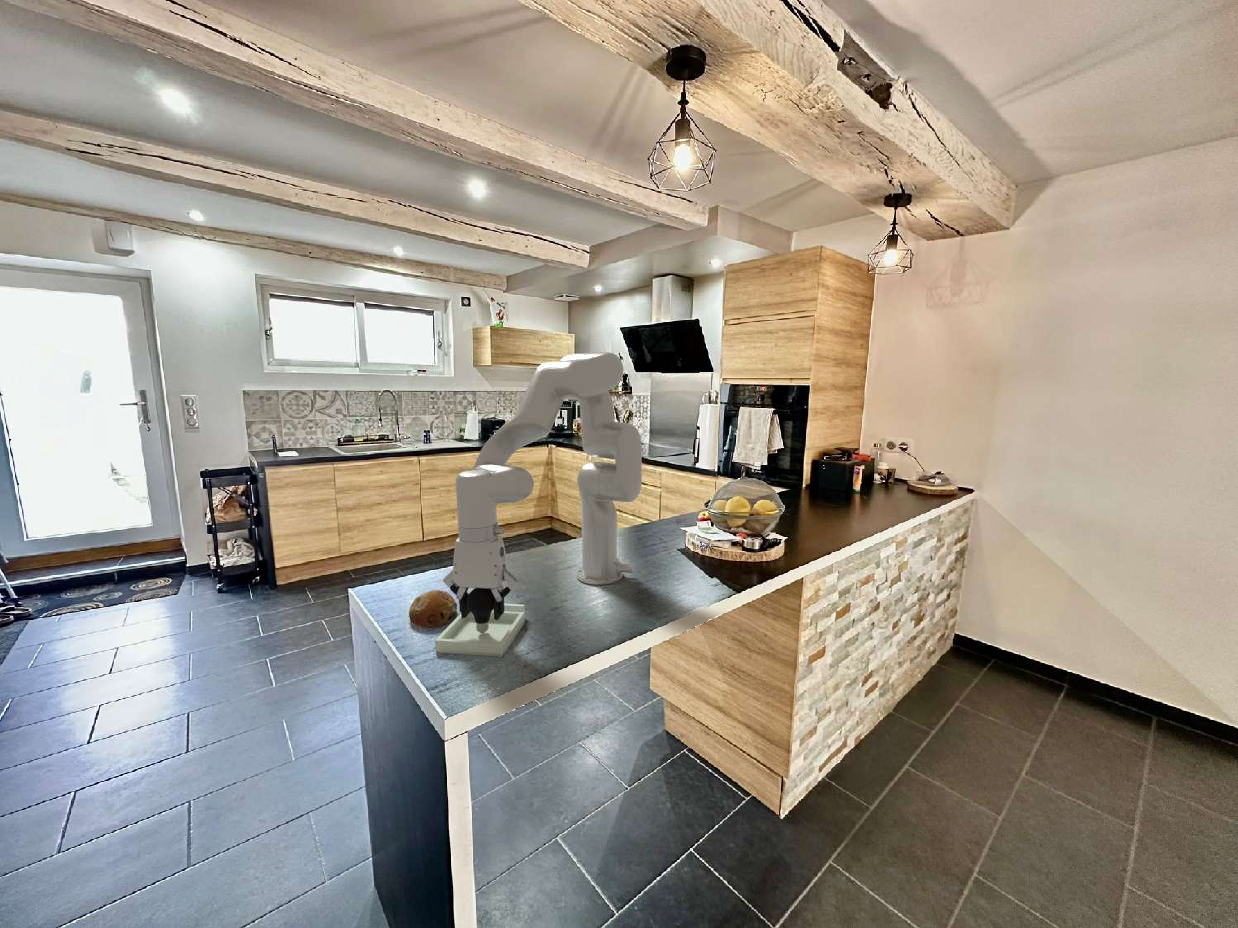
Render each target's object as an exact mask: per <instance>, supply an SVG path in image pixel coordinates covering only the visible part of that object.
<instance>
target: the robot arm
mask: <svg viewBox="0 0 1238 928" xmlns="http://www.w3.org/2000/svg"><path fill="white" fill-rule="evenodd" d="M623 376H624V364H623V361H622V360H621V359H620V357H619V356H618V355H617V354H615V353H613V352H609V351H608V352H605V351H604V352H581V353H580V352H579V353H578V352H577V353H571V354H568V355H565V356H563V357H562V358H561V359H560V360H558V361H548V362H544V363H542V364H540V365H538V366H537V368H536V370H535V371H534V373H533V375H532V377H531V379H530V381H529V384H528V386H527V388H526V391H525V392H524V394H523V397H522V398H521V400H520V403H519V405H518V407H517V409H516V412H515V413H514V415H513V416H512V418H510V419H509V420H508V421H506V422H505V423H503V424H502V426H501V427H500V428H499V429H498V430H496V432H495V433H494V434H492V435H491V436H490V437H489V438H488V440H487V441H486V442H485V443H484V444H483V446H482V448H481V450H480V451H479V454H478V456H477V457H476V460H475V462H474V465H473V467H472V470H466V471H465V470H464V471H462V472H460V473H458V474H457V475H456V478H455V490H456V491H455V493H456V494H455V495H456V510H457V511H456V512H457V529H458V532H457V533H458V538H456V540H455V543H454V544H455V545H454V551H453V564H452V565H453V566H452V568H453V569H451V571H450V572H449V573H448V574H447V575H446V576H445V577H444V578H443V579H442V582H443V583H444V584H445V585H446V586H447V587H448V588H449V590H450V591H451V592H452V593H453V594H454V595H455V598H456V599H457V600H458V606H459V613H460V614H461V618H465V617H466V616H467V615H468V614H469V613H470V610H469V609H468V606H467V598H468V595H469V592H468V591H469V589H475V588H483V589H491V590H492V592H493V595H494V597H495V601H494V603H493V606H494V619H495V620H498V619H499V618H500V617H501V615H502V614H503V613H504V604H505V597H506V596H507V595H508V594H509V593H511V591H513V589H515V587H517V585H518V584H519V579H517V578H516V577H515V576H514V575H513V574H512V573H511V572H510V571H509V570H508V561H507V553H506V549H505V548H506V547H505V545H504V544H505V543H504V540H503V537H502V536H501V535H503V534H504V533H505V527H504V526H503V527H501V526H499V522H498V513H497V512H498V510H497V506H498V505H499V504H500V505H501V504H502V505H503V504H515V503H519V502H523V501H524V500H526V499H527V498H528V497H529V496H530V495H531V494H532V492H533V489H534V485H535V484H534V479H533V476H532V475H531V473H530V472H529V471H528V470H526V469H525V468H522V467H519V466H516V465H515V466H514V465H508V464H507V462H508V461H509V459H510V458H511V456H512V455H514V454H515V453H516V452H517V451H518V450H520V449H522V448H523V447H524V446H527V445H529V444H532V443H533V442H536V441H539V440H541V439H543V438H545V437H546V436H547V435H549V434H550V432H551V431H552V429H553V425H554V424H555V422H556V419H557V417H558V414H559V412H560V410H561V408H562V405H563V404H564V403H563V402H564V401H566V400H569V401H570V400H573V401H574V400H575V401H577V400H578V403H579V407H580V408H579V409H580V424H581V425H580V426H581V428H580V429H581V430H580V431H581V445H582V450H583V452H584V453H585V454H586V455H587V456H589V457H594V458H597V459H598V458H600V459H609V460H614V462H615V463H614V462H613V463H612V462H604V461H603V462H602V461H590V462H587V463H585V464H584V465H582V466H581V468H580V469H578V473H577V477H576V478H577V479H576V481H577V488H578V493H579V494H578V495H579V498H580V506H581V507H580V508H581V567H580V568H578V570H577V571H576V578H577V580H578V581H580V582H582V583H584V584H588V585H593V586H594V585H595V586H596V585H600V586H603V585H610V584H614V583H616V582H618V581H620V580H621V579H622V578H623V573H626V574H633V573H634V565H630V563H627V562H626V563H623V562H621V561H620V557H618V514H617V513H618V512H617V508H616V506H615V503H614V502H620V503H630V502H634V501H636V499H637V498H638V497H639V495H640V492H641V489H642V484H643V483H642V480H643V479H642V478H643V477H642V476H643V474H642V466H643V464H642V462H643V460H642V453H643V452H642V439H641V438H642V437H641V435H640V432H639V430H638V428H637V427H636V426H635V425H634V424H632V423H629V422H623V421H615V413H614V402H613V398H612V396H611V394H610V392H609V391H610V390H613V389H615V388H616V387H617V386H619V384H620V383H621V382H622V379H623ZM502 582H506V583H508V585H506V586H503V584H502Z"/></svg>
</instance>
